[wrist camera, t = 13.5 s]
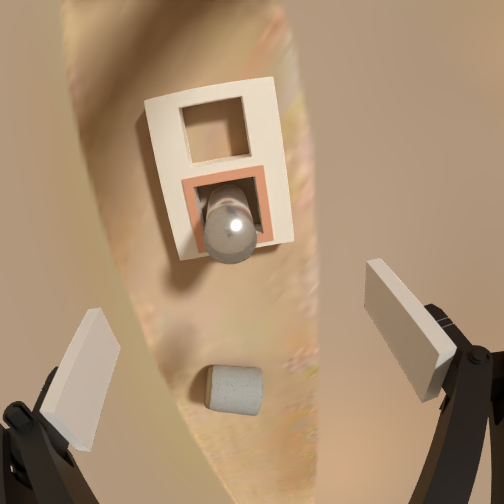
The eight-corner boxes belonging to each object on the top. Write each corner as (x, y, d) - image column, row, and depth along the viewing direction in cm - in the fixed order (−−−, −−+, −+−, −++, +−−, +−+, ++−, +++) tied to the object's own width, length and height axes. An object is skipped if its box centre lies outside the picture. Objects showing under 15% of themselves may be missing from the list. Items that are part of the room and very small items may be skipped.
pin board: (150, 101, 30) (143, 100, 27) (268, 79, 30) (273, 76, 27) (183, 249, 38) (180, 261, 35) (289, 231, 38) (294, 241, 35)
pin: (222, 176, 34) (223, 204, 25) (254, 198, 36) (267, 233, 26) (201, 208, 36) (193, 246, 26) (232, 227, 37) (236, 273, 27)
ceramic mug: (207, 354, 45) (206, 393, 38) (261, 357, 46) (267, 396, 39) (203, 396, 50) (202, 432, 43) (250, 398, 51) (253, 434, 44)
